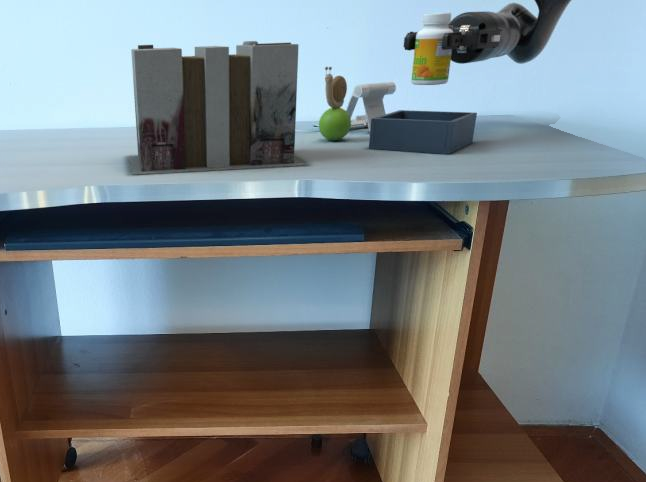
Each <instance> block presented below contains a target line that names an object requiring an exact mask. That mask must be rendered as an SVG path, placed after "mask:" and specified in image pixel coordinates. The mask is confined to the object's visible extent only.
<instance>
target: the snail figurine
mask: <svg viewBox="0 0 646 482" xmlns="http://www.w3.org/2000/svg"><path fill="white" fill-rule="evenodd" d="M332 69H333V67H332V66H325V67H324V70H325V72H327V71H332ZM324 81H325V88H324V89H325V99H326V102H327V103H326V104H327V105H328V106H329V107H330V108H328V109H327V110H325V111H323V113H322V114H321V116H320V118H319V120H318V130H319V133H320V134H321V136H322V137H323V138H324V139H326V140H328V141H331V142H332V141H333V142H337V141H340V140H342V139H344V138H345V137H346V136H347V135H348V133H349V132H350V130H351V129H350V127H351V121H352V117H351V118H350V116H349V114H348V113H347V112H346V111H345V110H346V109H344V108H341V107H343V105H344V103H345V98H346V96H347V92H348V85H347V80H346V78H345V77H344V76H342V75H336V76H335V77H334V76H333V74H332V73H326V74H325V77H324Z"/></svg>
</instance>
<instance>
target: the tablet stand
mask: <svg viewBox="0 0 646 482" xmlns="http://www.w3.org/2000/svg"><path fill="white" fill-rule="evenodd" d="M396 90H397V85H396V83H395V82H393V81H387V82H375V83H374V82H373V83H364V84H363V83H362V84H356V85H354V87H353V90H352V93H351V95H350V98H349V101H348V103H347V106H346V108H345V109H344V110H345V111H346V112H347V113H348V114H349V116H350V118H351V119H352V116H353V114H354V111H355V109H356V106H357V104H358V101H359V99H360V98H362V103H363V107H364V112H365V114H362V115H356V116H355V117H354V120H351V127H350V130H355V129H366V128H368V132H369V133H370V128H371V119H372V118H375V117H378V116H382V115H385V114H386V110H385V104H384V98H385V96H387V95H389V96H390V95H393V94H394V93H395V92H396Z"/></svg>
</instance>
